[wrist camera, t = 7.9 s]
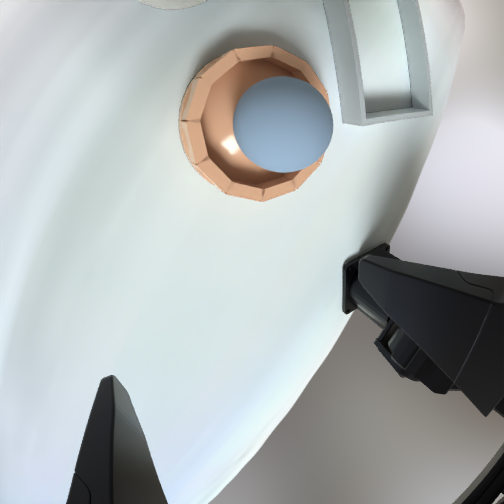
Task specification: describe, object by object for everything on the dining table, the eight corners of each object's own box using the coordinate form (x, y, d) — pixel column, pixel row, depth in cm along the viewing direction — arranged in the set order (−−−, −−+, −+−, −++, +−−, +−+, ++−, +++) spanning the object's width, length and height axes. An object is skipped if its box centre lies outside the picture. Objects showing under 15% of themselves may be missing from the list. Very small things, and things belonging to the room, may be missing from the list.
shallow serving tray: (415, 112, 25) (432, 115, 23) (342, 123, 22) (362, 126, 20) (394, -22, 17) (411, -25, 15) (311, -45, 14) (329, -53, 12)
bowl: (320, 171, 23) (337, 177, 21) (199, 213, 20) (209, 223, 18) (303, 45, 18) (320, 42, 16) (162, 64, 15) (169, 58, 13)
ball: (288, 75, 18) (347, 70, 13) (300, 152, 20) (357, 168, 16) (209, 88, 16) (253, 79, 11) (227, 174, 19) (274, 196, 14)
